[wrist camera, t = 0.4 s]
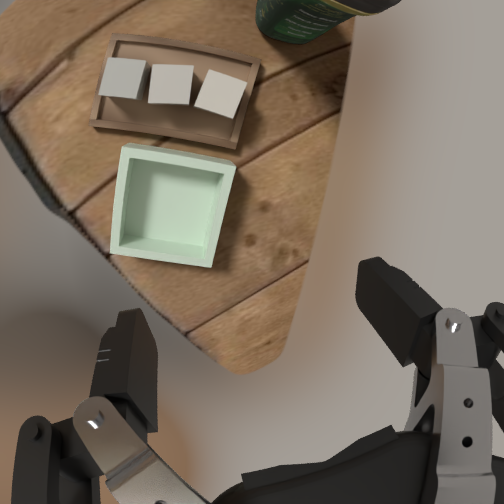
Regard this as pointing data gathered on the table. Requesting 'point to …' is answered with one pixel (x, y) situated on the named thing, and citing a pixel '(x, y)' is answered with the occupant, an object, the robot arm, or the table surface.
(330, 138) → the table surface
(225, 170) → the sage bin
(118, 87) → the off-white cube
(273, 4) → the coffee jar
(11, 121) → the table surface
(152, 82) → the pale grey cube
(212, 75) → the white cube
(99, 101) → the walnut tray
